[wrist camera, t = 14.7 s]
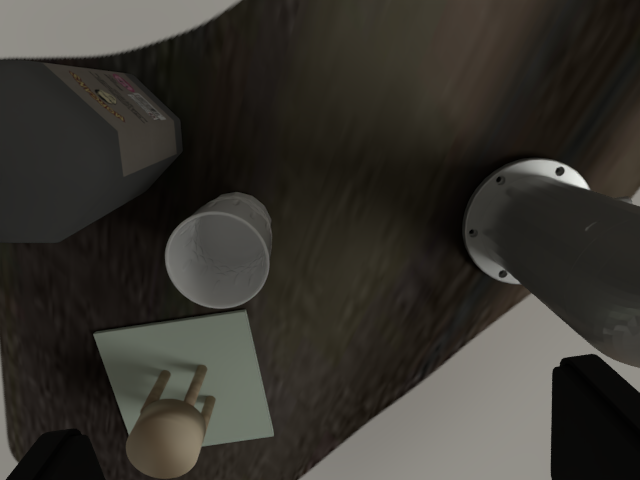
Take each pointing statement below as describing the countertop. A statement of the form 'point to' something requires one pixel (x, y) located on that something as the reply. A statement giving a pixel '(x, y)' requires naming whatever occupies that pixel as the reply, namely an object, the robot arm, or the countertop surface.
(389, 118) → the countertop surface
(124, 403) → the sage mat
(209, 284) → the white cup
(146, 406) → the round tan stool
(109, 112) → the liquor
